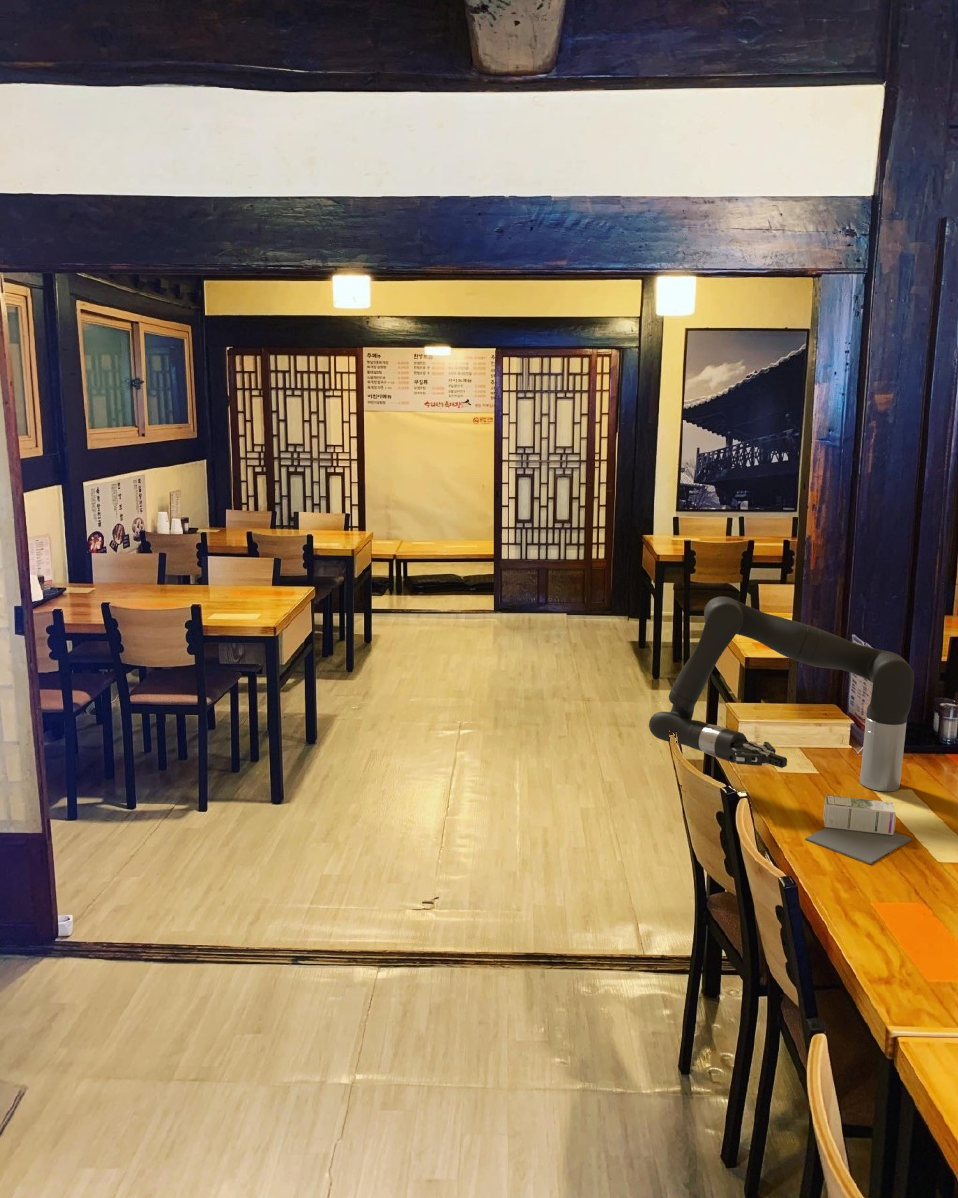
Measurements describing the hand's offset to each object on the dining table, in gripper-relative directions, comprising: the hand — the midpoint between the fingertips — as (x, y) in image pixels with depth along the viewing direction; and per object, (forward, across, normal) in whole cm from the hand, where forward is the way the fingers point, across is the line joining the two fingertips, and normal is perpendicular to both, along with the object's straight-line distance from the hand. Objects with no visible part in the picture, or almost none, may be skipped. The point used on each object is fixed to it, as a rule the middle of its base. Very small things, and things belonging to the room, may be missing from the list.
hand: (785, 763), depth 228 cm
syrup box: (+10, +1, +8) cm, 13 cm away
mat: (+19, 0, +12) cm, 23 cm away
